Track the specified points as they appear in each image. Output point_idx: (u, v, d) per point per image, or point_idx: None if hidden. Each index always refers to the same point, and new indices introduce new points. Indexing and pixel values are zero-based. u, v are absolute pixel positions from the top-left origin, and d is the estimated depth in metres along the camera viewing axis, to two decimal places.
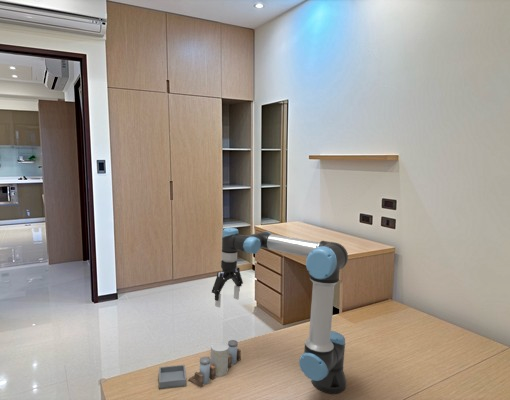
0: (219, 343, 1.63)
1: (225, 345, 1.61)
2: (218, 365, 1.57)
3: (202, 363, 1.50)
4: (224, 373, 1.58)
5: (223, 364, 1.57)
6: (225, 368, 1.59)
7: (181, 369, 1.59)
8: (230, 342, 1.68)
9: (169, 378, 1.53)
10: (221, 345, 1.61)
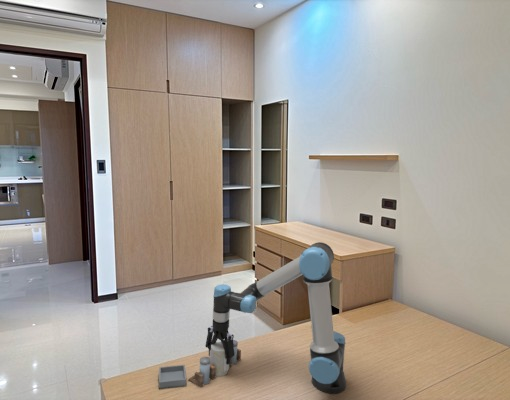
0: (219, 343, 1.63)
1: None
2: (217, 365, 1.57)
3: (202, 363, 1.50)
4: (224, 373, 1.58)
5: (223, 364, 1.57)
6: None
7: (181, 369, 1.59)
8: None
9: (169, 378, 1.53)
10: (221, 345, 1.61)
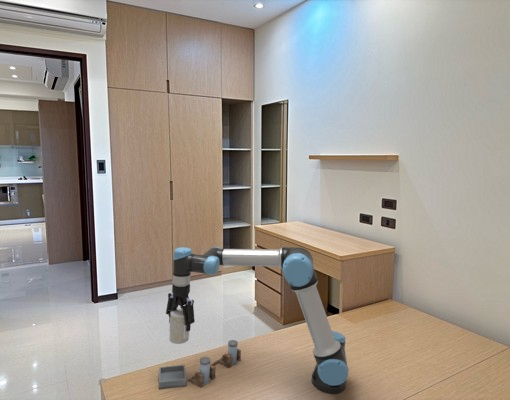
0: (180, 310, 1.54)
1: None
2: (177, 331, 1.48)
3: (202, 363, 1.50)
4: (184, 341, 1.50)
5: (182, 331, 1.49)
6: None
7: (181, 369, 1.59)
8: (230, 342, 1.68)
9: (169, 378, 1.53)
10: (182, 311, 1.52)
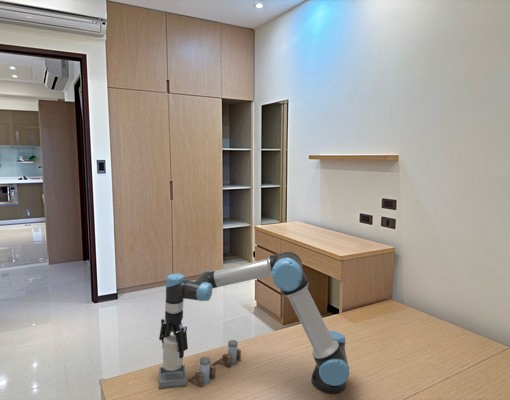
0: (173, 336, 1.54)
1: None
2: (170, 358, 1.48)
3: (202, 363, 1.50)
4: (177, 367, 1.50)
5: (175, 358, 1.49)
6: None
7: (181, 369, 1.59)
8: (230, 342, 1.68)
9: (169, 378, 1.53)
10: (175, 338, 1.52)
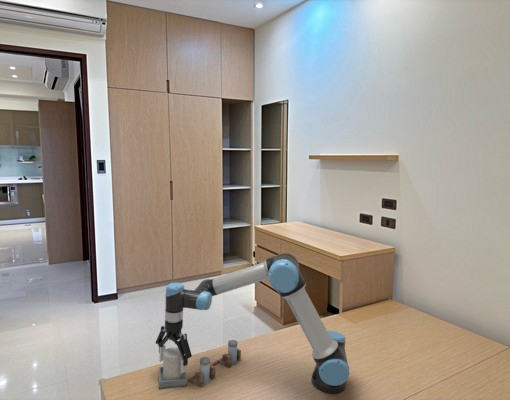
0: (173, 349, 1.55)
1: (179, 351, 1.53)
2: (170, 372, 1.49)
3: (202, 363, 1.50)
4: None
5: (175, 371, 1.49)
6: (178, 375, 1.50)
7: None
8: (230, 342, 1.68)
9: None
10: (175, 351, 1.53)
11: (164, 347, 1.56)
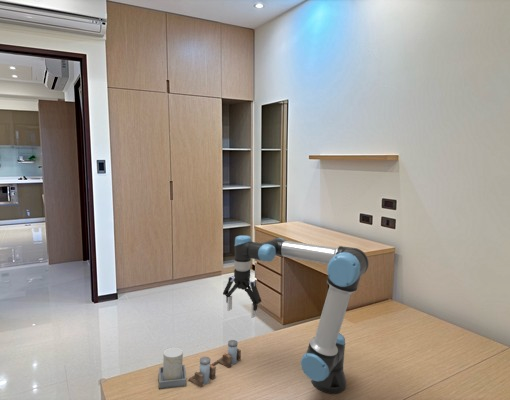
0: (173, 349, 1.55)
1: (179, 351, 1.53)
2: (170, 372, 1.49)
3: (202, 363, 1.50)
4: None
5: (175, 371, 1.49)
6: (178, 375, 1.50)
7: None
8: (230, 342, 1.68)
9: None
10: (175, 351, 1.53)
11: (231, 297, 1.68)
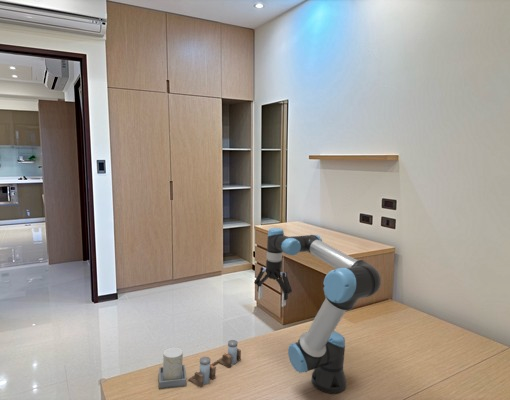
0: (173, 349, 1.54)
1: (179, 351, 1.53)
2: (170, 372, 1.49)
3: (202, 363, 1.50)
4: None
5: (175, 371, 1.49)
6: (178, 375, 1.50)
7: None
8: (230, 342, 1.68)
9: None
10: (175, 351, 1.53)
11: (262, 287, 1.76)
